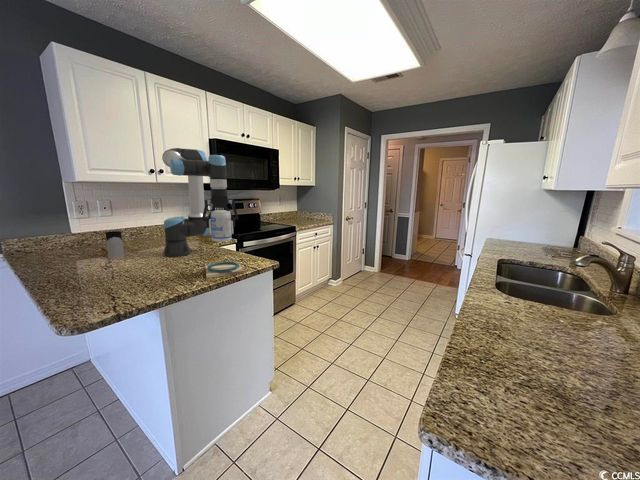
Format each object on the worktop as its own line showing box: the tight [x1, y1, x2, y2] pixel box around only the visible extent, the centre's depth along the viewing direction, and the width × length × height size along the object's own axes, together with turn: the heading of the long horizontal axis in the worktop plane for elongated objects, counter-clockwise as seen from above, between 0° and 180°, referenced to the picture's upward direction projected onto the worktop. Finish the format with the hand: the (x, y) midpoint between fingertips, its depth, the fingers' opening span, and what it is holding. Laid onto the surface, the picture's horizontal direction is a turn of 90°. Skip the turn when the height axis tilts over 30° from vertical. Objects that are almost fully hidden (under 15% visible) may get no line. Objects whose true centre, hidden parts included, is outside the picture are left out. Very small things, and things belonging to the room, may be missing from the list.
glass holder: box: [104, 230, 126, 259], centre depth 161 cm, size 9×14×15 cm, turn 41°
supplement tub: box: [210, 209, 233, 243], centre depth 131 cm, size 10×10×15 cm
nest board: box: [204, 261, 245, 279], centre depth 135 cm, size 18×17×3 cm
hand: (221, 234), depth 132 cm, fingers closed on supplement tub, 10 cm apart
